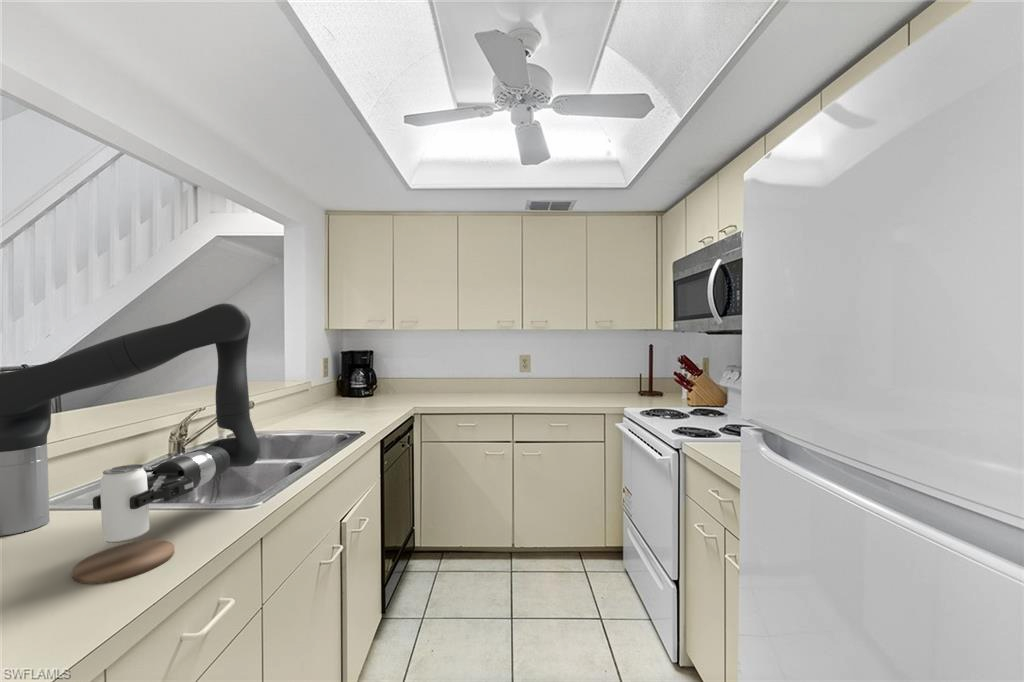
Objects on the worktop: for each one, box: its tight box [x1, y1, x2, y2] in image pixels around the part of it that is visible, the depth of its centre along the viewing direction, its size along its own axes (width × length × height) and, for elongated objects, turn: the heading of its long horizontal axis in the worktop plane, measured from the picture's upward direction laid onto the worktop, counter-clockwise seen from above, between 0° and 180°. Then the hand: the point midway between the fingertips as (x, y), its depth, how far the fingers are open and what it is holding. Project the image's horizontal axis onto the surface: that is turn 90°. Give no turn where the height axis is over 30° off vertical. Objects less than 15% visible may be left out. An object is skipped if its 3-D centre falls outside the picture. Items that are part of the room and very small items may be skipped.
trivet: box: [71, 539, 175, 584], centre depth 84 cm, size 14×14×1 cm
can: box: [99, 463, 150, 544], centre depth 84 cm, size 6×6×12 cm
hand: (113, 503), depth 82 cm, fingers closed on can, 6 cm apart
